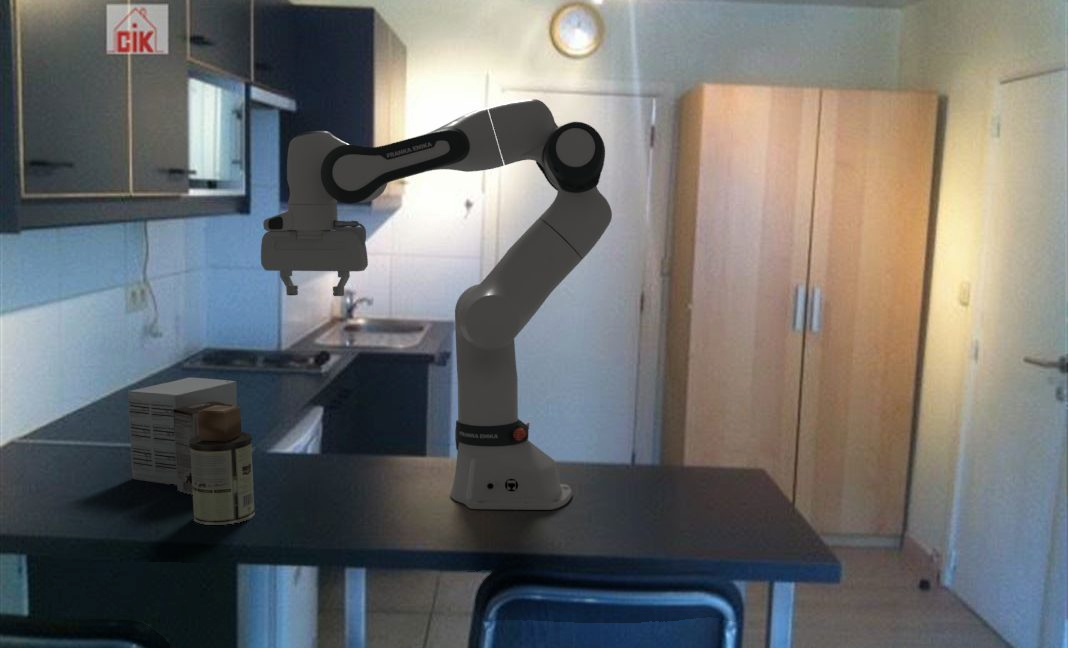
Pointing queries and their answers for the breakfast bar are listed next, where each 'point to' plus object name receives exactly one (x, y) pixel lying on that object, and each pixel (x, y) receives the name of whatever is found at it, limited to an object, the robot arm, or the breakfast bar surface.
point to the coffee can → (222, 480)
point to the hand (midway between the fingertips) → (315, 295)
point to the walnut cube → (219, 423)
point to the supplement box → (166, 422)
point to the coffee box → (187, 441)
